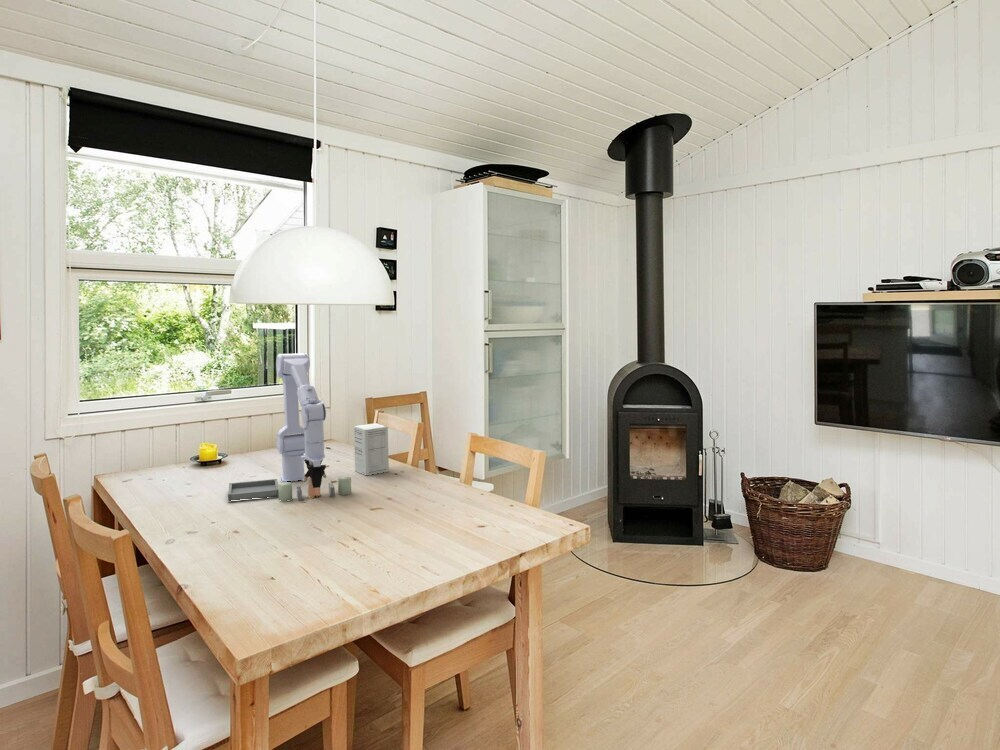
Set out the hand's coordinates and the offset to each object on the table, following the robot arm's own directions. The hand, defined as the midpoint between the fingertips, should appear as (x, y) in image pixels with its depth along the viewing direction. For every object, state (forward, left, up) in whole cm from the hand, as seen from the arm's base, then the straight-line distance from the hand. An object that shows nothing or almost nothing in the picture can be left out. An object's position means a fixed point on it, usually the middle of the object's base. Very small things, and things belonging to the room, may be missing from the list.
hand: (315, 484), depth 194 cm
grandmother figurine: (0, 0, -4) cm, 4 cm away
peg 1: (0, +9, -4) cm, 10 cm away
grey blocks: (0, 0, -4) cm, 4 cm away
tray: (-10, -18, -4) cm, 21 cm away
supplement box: (-24, +22, -4) cm, 33 cm away
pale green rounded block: (0, -9, -4) cm, 10 cm away
